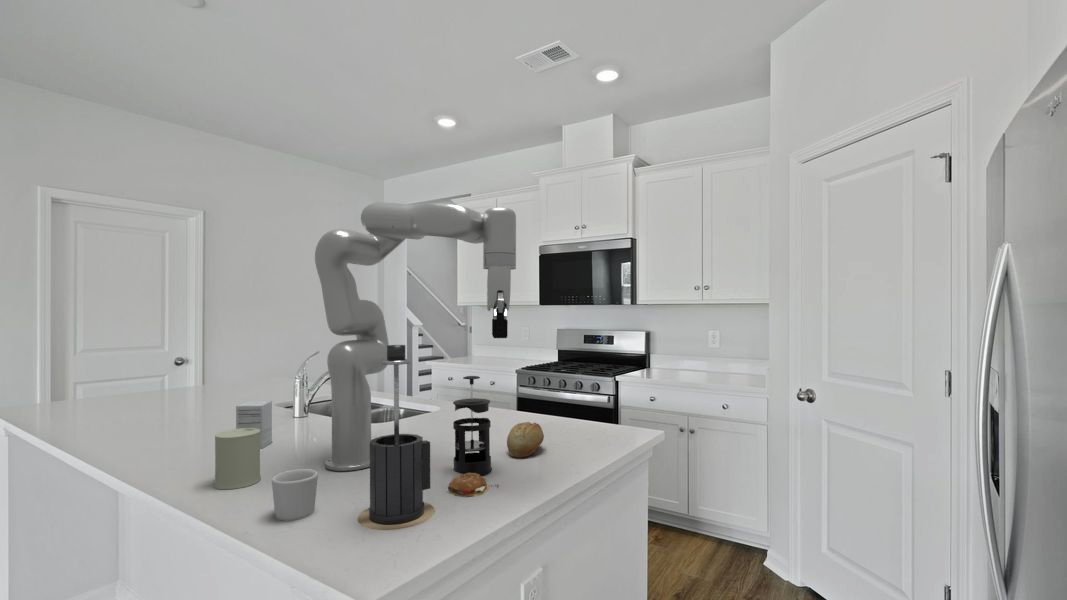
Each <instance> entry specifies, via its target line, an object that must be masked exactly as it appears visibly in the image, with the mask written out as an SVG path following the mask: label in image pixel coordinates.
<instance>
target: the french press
mask: <svg viewBox="0 0 1067 600" xmlns="http://www.w3.org/2000/svg"><path fill="white" fill-rule="evenodd" d="M480 378H481V377H480V376H477V375H468V376H467V375H466V376H463V378H462V379H463V380H469V385H470V398H463V399H457V400H453V403H452V404H453V405H454V412H456V411H458V410H461V409H466V408H467V409H469V410H470V411H471V412H470V416H471V417H467V418H461V419H457V420H454V421H453V429H454V439H455V441H454V447H455V448H454V453H455V454H454V455H455V456H454V457H453V471H454V472H456V473H458V474H466V473H476V474H479V475H480V476H482V477H484V476H487V475H490V474H491V473H492V472H491V471H493V468H492V456H491V455H490V453H491V452H490V450H491V449H490V448H491V447H490V446H491V445H490V444H491V443H490V429H491V420H490V419H489V417H473V416H474V415H473V414H474V413H476V414H482V413H486V412H488V411H489V407H490V406H489V405H490V403H491V400H489V399H486V398H477V397H476V398H474V397H473V394H474V393H473V385H474V383H475V381H474V380H477V379H478V380H479V379H480ZM466 424H471V425H466ZM474 424H476V425H474ZM477 424H478V425H477ZM466 432H470V433H471V434H470V435H471V439H470V440H466ZM474 432H478V440H474Z"/></svg>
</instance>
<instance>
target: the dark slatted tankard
mask: <svg viewBox="0 0 1067 600" xmlns="http://www.w3.org/2000/svg"><path fill="white" fill-rule="evenodd" d="M429 489H431V441H429V440H427V439H426V440H423V436H421V435H419V434H413V433H399V445H394V433H393V434H387V435H381V436H377V437H375V438H373V439H372V438H371V442H370V467H369V507H368V508H369V519H370V521H372V522H373V523H376V524H381V525H398V524H404V523H408V522H411V521H414V520H416V519H418V518H420V517H421V516H422V515H423V514H424V502H425V501H424V491H425V490H426V491H427V490H429Z"/></svg>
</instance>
